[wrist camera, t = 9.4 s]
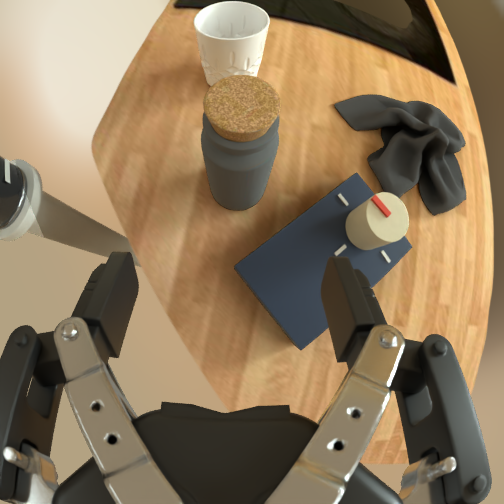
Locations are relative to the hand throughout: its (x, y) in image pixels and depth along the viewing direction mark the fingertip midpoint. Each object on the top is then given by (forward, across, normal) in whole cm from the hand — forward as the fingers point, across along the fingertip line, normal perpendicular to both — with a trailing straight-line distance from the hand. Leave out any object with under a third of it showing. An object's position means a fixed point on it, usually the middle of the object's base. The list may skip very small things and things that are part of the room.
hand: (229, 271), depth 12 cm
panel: (+15, +10, -11) cm, 20 cm away
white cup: (+31, -1, +6) cm, 32 cm away
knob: (+14, +13, -7) cm, 21 cm away
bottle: (+20, 0, -6) cm, 21 cm away
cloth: (+25, +23, 0) cm, 34 cm away
